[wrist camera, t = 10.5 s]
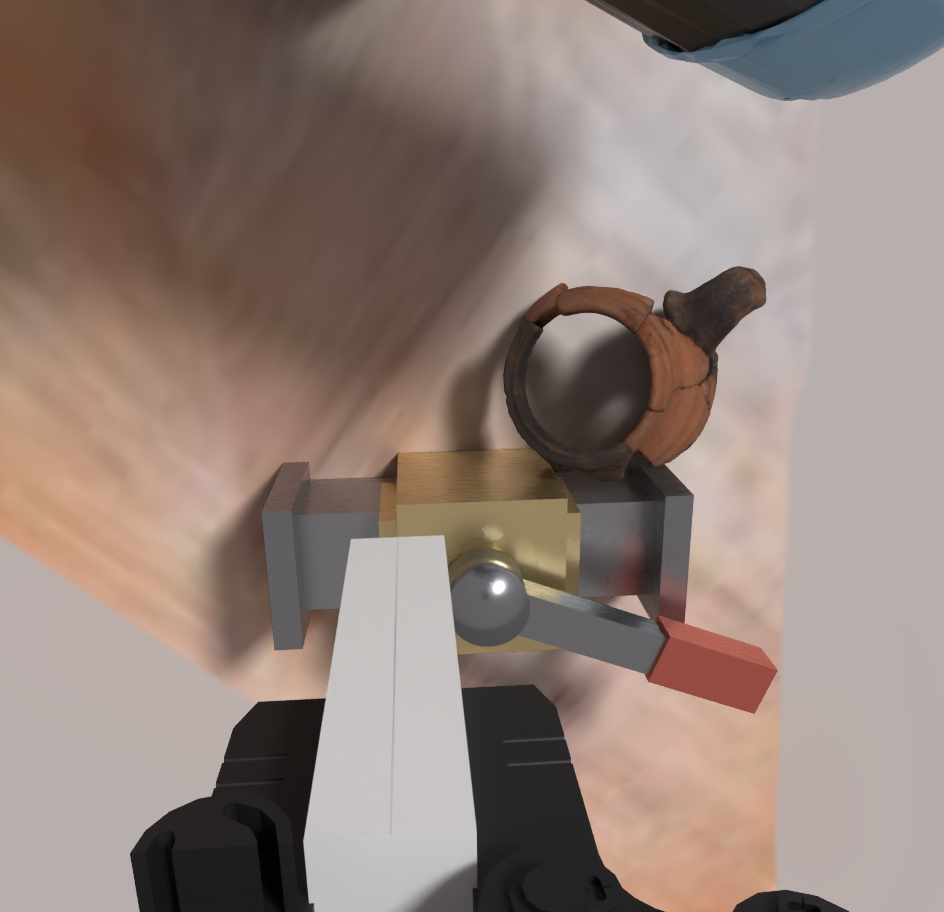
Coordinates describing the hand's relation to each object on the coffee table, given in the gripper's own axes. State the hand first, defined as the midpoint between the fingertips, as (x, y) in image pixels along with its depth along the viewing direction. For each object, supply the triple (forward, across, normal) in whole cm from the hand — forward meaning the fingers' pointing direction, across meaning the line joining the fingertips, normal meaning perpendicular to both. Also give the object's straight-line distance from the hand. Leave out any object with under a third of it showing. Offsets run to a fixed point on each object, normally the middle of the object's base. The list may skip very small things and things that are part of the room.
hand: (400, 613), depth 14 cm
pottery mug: (+27, +10, -1) cm, 29 cm away
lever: (+19, +8, -11) cm, 23 cm away
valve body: (+26, +3, -9) cm, 28 cm away
